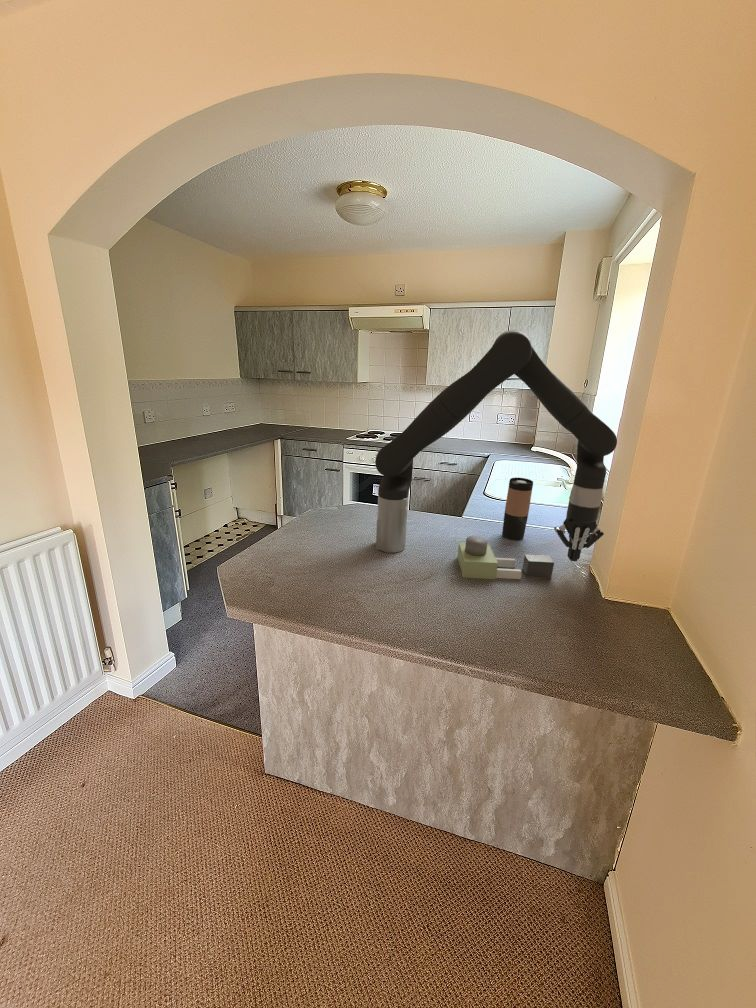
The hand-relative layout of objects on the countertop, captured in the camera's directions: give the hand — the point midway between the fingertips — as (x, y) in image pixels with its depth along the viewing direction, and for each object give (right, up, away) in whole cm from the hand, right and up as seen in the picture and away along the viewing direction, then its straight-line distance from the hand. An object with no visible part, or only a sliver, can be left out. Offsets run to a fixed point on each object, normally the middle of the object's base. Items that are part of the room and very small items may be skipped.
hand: (572, 559), depth 114 cm
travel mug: (-8, +4, +27) cm, 29 cm away
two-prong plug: (-23, -3, +4) cm, 23 cm away
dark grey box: (-9, -4, +2) cm, 11 cm away
